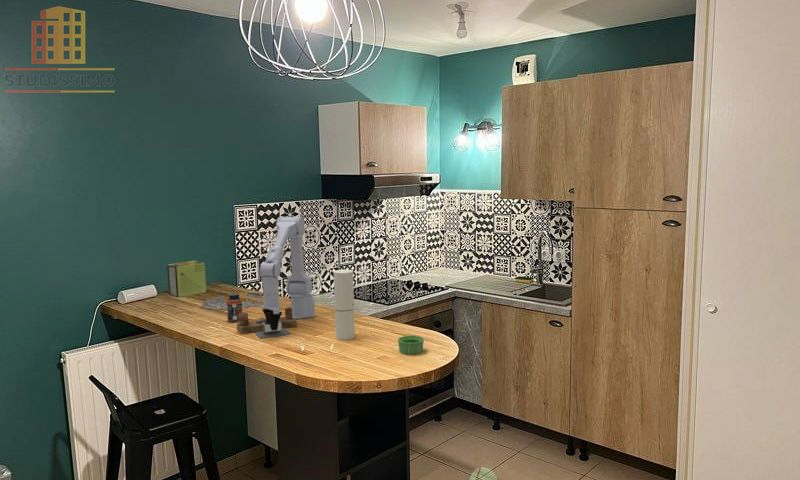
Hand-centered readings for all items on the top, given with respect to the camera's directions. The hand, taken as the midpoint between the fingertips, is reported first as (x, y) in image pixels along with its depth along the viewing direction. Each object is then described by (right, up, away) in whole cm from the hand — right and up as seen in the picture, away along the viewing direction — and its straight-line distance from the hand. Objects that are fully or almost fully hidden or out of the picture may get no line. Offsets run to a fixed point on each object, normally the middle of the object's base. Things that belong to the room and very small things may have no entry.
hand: (272, 328), depth 235 cm
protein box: (-59, +7, +76) cm, 97 cm away
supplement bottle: (-20, 0, +21) cm, 29 cm away
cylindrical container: (+28, -3, -6) cm, 29 cm away
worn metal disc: (-28, +4, +56) cm, 63 cm away
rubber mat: (0, -2, 0) cm, 2 cm away
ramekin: (+53, -5, -24) cm, 58 cm away
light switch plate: (0, -1, 0) cm, 1 cm away
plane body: (-4, -1, +9) cm, 10 cm away
